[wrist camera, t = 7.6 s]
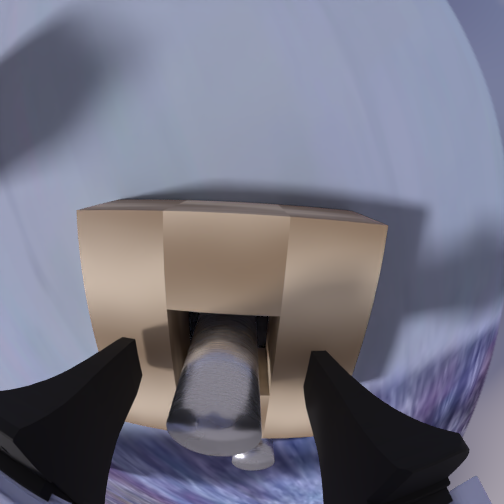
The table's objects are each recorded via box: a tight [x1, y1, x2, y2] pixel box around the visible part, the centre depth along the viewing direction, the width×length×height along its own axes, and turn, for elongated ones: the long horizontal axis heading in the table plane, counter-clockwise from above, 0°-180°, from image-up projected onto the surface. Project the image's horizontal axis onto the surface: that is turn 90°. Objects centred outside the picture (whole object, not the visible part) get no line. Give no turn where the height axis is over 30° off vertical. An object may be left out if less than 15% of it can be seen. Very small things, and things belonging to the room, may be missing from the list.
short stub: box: [232, 438, 274, 471], centre depth 16 cm, size 3×3×3 cm
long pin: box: [166, 312, 262, 456], centre depth 11 cm, size 3×3×8 cm
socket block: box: [77, 200, 388, 438], centre depth 13 cm, size 12×12×4 cm
